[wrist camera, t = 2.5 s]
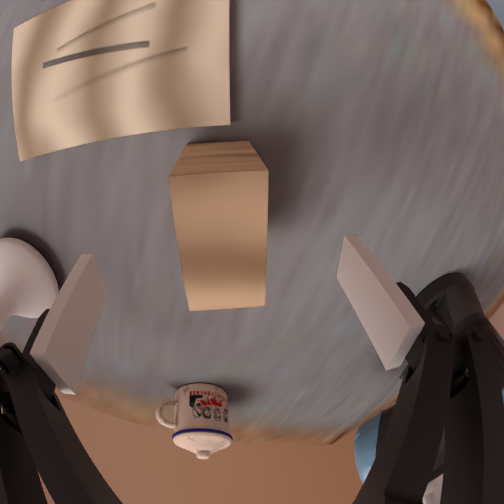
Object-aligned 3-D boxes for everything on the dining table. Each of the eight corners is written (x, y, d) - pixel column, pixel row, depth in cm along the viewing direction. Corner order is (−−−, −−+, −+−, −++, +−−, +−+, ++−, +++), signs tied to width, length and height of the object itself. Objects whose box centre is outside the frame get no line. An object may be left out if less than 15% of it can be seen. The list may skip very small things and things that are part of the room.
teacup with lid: (238, 388, 41) (246, 453, 32) (213, 410, 45) (217, 466, 35) (167, 370, 37) (163, 441, 27) (151, 394, 41) (146, 455, 31)
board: (228, -24, 14) (229, -31, 12) (229, 123, 21) (230, 125, 20) (22, 29, 12) (14, 28, 10) (28, 157, 19) (20, 161, 18)
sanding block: (187, 143, 22) (168, 176, 13) (247, 139, 22) (268, 170, 14) (196, 237, 26) (189, 310, 18) (248, 233, 27) (264, 305, 18)
